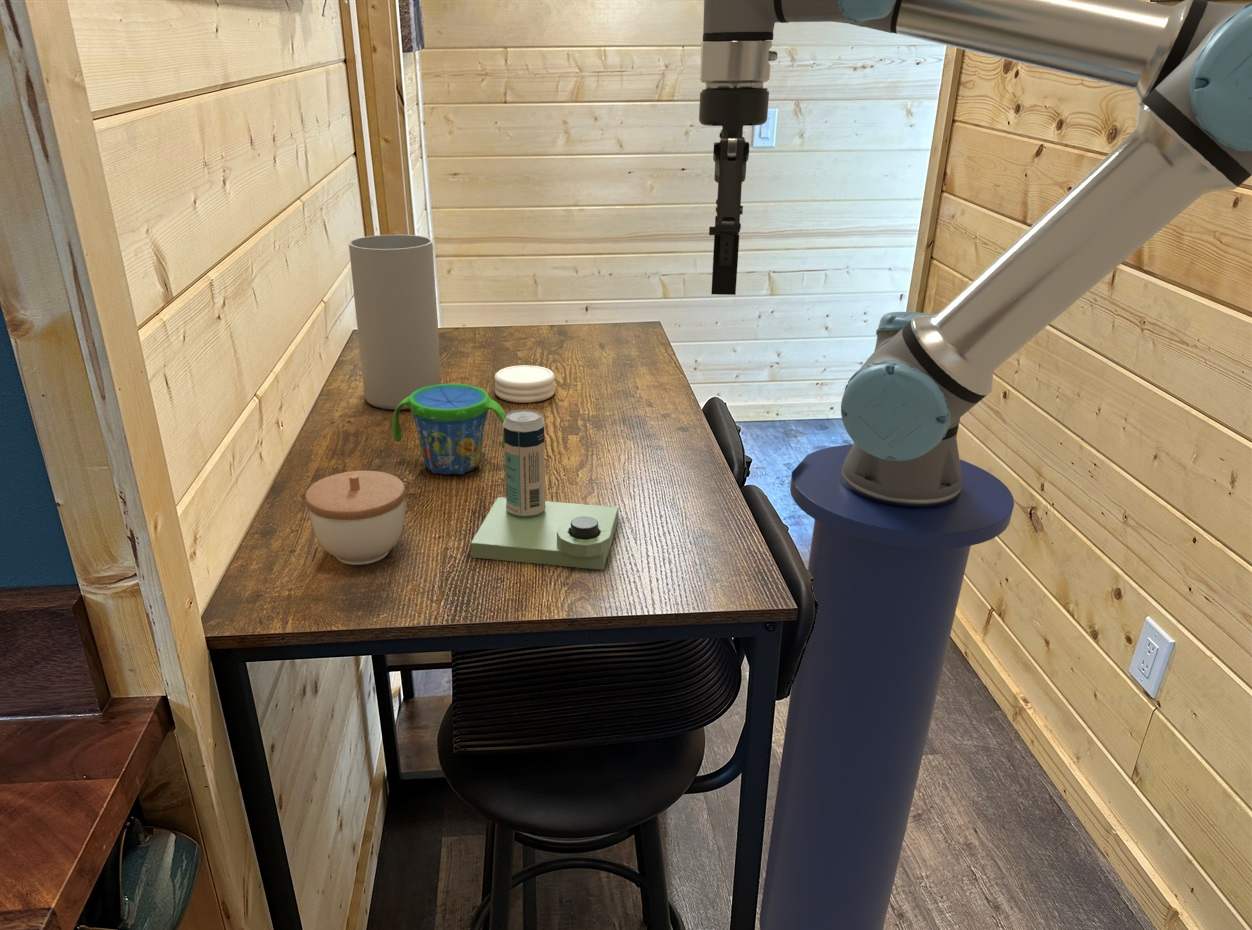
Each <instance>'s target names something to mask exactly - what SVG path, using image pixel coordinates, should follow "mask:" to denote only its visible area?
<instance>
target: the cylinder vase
mask: <svg viewBox="0 0 1252 930" xmlns="http://www.w3.org/2000/svg"><path fill="white" fill-rule="evenodd" d="M348 249H349V251H348V252H349V260H350V270H351V279H352V289H353V297H354V298H353V299H354V309H355V317H356V326H357V327H356V329H357V336H358V347H359V357H360V367H361V376H362V384H363V386H362V388H363V396H364V399H365V401H366V402H367V403H368V404H369V405H371V406H372V407H376V408H378V409H383V410H391V411H393V410H394V411H395V409H396V408H397V406H398V405H399V403H400V402H401V401H402V400H404V399H405V398H406V397H408V396H410V395H411V394H412V393H413V392H414V391H416V390H418V389H421V388H423V387H427V386H432V385H439V384H442V369H441V355H440V340H439V339H440V338H439V324H438V323H439V322H438V307H437V292H436V291H437V290H436V276H435V261H434V244H433V239H432V238H430V237H428V236H423V235H417V234H378V235H377V234H376V235H368V236H362V237H358V238H353V239H351V240H350V241H348ZM405 410H411V409H410V407H409V406H408V405H403V406H402V407H401V409H400V411H405Z"/></svg>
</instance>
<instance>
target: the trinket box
mask: <svg viewBox="0 0 1252 930" xmlns="http://www.w3.org/2000/svg"><path fill="white" fill-rule="evenodd" d="M304 500H305V506H306V508H307V512H308V517H309V522H310V527H311V529H312V532H313V534H314V536H315V538H316V540H317V542H318V543H319V545H320V546H321V547H322V548H323V549H324V550H325V551H326V552H327V553H328V554H330V555H332V556H333V557H335V559H336V560H337V561H338V562H340V563H343V564H346V565H351V566H352V565H353V566H362V565H369V564H373V563H376V562H378V561H381V560H382V559H384V558H385V557H387V555H388V554H389V553H390V551H391V550H392V549H393V547H395V545H396V544H397V543H398V541H399V540H400V537H402V533H403V530H404V527H405V522H406V487H405V484H404V482H403V481H402V479H400V478H399V477H397V476H396V475H393V474H390V473H388V472H384V471H376V470H353V471H344V472H340V473H335V474H331V475H328V476H325V477H323V478H321V479H319V480H317V481H316V482H314V483H313V484H311V485H310V486H309V487H308V489H307V490H306V492H305V495H304Z"/></svg>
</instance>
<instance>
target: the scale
mask: <svg viewBox="0 0 1252 930" xmlns="http://www.w3.org/2000/svg"><path fill="white" fill-rule="evenodd" d="M545 505H546V508H545V509H544V510H543V511H542V512H540V513H539V514H537V515H535V516H531V517H520V516H516V515H514V514H512V513H510V512H508V511H507V509H506V497H500V496H497V497H496V499H495V500H494V503H493V504H492V506H491V508H490V510H489V511H488V513H487V514H486V516H485V518H484V520H483V521H482V523H481V524H480V526H479V528H478V530H477V531H476V533H475V534H474V537H473V538H472V540H471V542H470V556H471V558H473V559H485V560H494V561H495V560H496V561H506V562H508V561H509V562H516V563H517V562H518V563H527V564H536V565H537V564H538V565H547V566H559V567H567V568H568V567H569V568H579V569H589V570H598V571H599V570H601V571H604V569H605V567H606V562H607V559H608V556H609V553H610V549H611V546H612V542H613V541H614V540H613V539H614V536H615V534H616V529H617V526H618V523H619V510H620V509H619V507H618V506H607V505H597V504H586V503H585V504H584V503H575V502H574V503H573V502H561V501H550V500H545ZM581 516H588V517H592V518H595V519H596V520H597V521H598V536H597V537H596V538H593V539H587V540H584V539H576V538H574V537H572V536H571V521H572V520H573V519H574V518H576V517H581Z"/></svg>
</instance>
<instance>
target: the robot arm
mask: <svg viewBox="0 0 1252 930" xmlns="http://www.w3.org/2000/svg"><path fill="white" fill-rule="evenodd" d="M823 22H824V23H825V22H826V23H827V22H829V23H831V22H832V23H838V24H839V23H840V24H841V23H842V24H848V25H852V26H857V27H862V28H867V29H872V30H876V31H880V32H884V33H889V34H895V35H901V36H904V37H909V38H913V39H917V40H921V41H926V42H930V43H934V44H937V45H938V44H939V45H942V46H946V47H951V48H956V49H960V50H964V51H969V52H972V53H977V54H982V55H985V56H990V57H994V58H999V59H1004V60H1008V61H1011V62H1016V63H1020V64H1025V65H1028V66H1033V67H1036V68H1042V69H1046V70H1050V71H1054V72H1059V73H1063V74H1066V75H1072V76H1076V77H1081V78H1085V79H1088V80H1093V81H1097V82H1101V83H1106V84H1110V85H1114V86H1118V87H1122V88H1126V89H1132V91H1134V93H1135V95H1136V97H1137V99H1138V101H1139V103H1138V105H1137V113H1136V123H1135V127H1134V129H1133V131H1132V132H1130V133H1129V134H1128V136H1126V137H1125V138H1124V139H1123V140H1122V141H1121V142H1120V143H1119V144H1118V145H1116V147H1115V148H1113V149H1112V151H1111V152H1109V153H1108V154H1107V155H1106V156H1105V157H1104V158H1103V159H1102V160H1100V162H1098V164H1097V165H1096V166H1094V167H1093V168H1092V169H1091V170H1090V171H1089V172H1088V173H1087V174H1086V175H1085V176H1084V177H1083V178H1082V179H1080V181H1078V182H1077V183H1076V184H1075V185H1074V186H1073V187H1072V188H1071V189H1070V190H1069V191H1068V192H1067V193H1066V194H1064V195H1063V196H1062V197H1061V198H1060V199H1059V200H1058V201H1057V202H1056V203H1055V204H1054V205H1052V206H1051V208H1049V209H1048V210H1047V211H1046V212H1045V213H1044V214H1043V215H1042V216H1041V217H1040V218H1039V219H1038V220H1036V222H1034V224H1032V225H1031V226H1030V227H1029V228H1028V229H1027V230H1026V231H1025V232H1024V233H1022V235H1020V237H1019V238H1017V239H1016V240H1015V241H1014V242H1013V243H1012V244H1011V245H1010V246H1009V247H1008V248H1007V249H1005V250H1004V251H1003V252H1002V253H1001V254H1000V255H999V256H998V257H997V258H996V259H995V260H993V262H992V263H991V264H990V265H988V267H986V268H985V269H984V270H983V271H982V272H981V273H980V274H979V275H977V276H976V278H974V280H972V281H971V282H970V283H969V284H968V285H967V286H966V287H964V289H963V290H962V291H961V292H960V293H958V294H957V295H956V296H955V297H954V298H953V299H952V300H951V301H950V302H949V303H948V304H947V305H946V306H944V308H942V309H941V310H940V312H938V313H929V312H919V311H917V312H916V311H891V312H887V313H885V314H883V315H882V316H881V318H880V320H879V324H878V328H877V329H876V330H875V335H876V343H875V346H874V351H873V353H871V355H870V356H869V357H868V359H866V361H865V362H864V363H863V364H862V365H861V367H860V368H859V369H858V370H857V371H855V373H853V375H851V377H850V378H849V380H848V381H847V384H845V387H844V392H843V395H842V397H841V401H840V416H841V421H842V424H843V427H844V429H845V432H846V433H847V435H848V437H850V439H851V441H853V443H852V444H853V445H852V447H851V449H850V451H849V453H848V455H847V457H846V459H845V461H844V464H843V467H842V474H841V480H842V482H843V484H844V485H845V486H846V487H847V488H848V489H849V490H850V491H852V492H853V493H855V494H856V495H858V496H860V497H862V498H865V499H867V500H870V501H873V502H876V503H880V504H884V505H888V506H893V507H900V508H910V509H927V508H936V507H941V506H945V505H948V504H950V503H952V502H954V501H955V500H957V498H958V497H959V495H960V491H961V486H962V473H961V466H960V460H961V459H960V453H959V447H958V440H957V439H958V438H957V436H958V431H959V426H960V421H961V417H963V416H964V415H966V413H968V412H969V411H970V410H971V409H972V408H973V407H975V406H976V405H977V404H978V403H980V402H981V401H982V400H983V399H984V398H985V397H987V396H988V395H989V394H990V393H991V392H992V391H993V383H994V373H995V371H996V370H997V369H998V368H1000V366H1002V365H1003V364H1004V363H1005V362H1007V361H1008V360H1009V359H1010V358H1011V357H1012V356H1014V354H1016V353H1017V352H1018V351H1020V350H1021V349H1022V348H1023V347H1024V346H1025V345H1026V344H1028V343H1029V342H1030V341H1031V340H1032V339H1033V338H1035V337H1036V336H1037V335H1038V334H1040V333H1041V332H1042V331H1043V330H1044V329H1046V328H1047V327H1048V326H1049V325H1050V324H1052V323H1053V322H1054V321H1055V320H1056V319H1057V318H1058V317H1060V316H1061V315H1062V314H1063V313H1064V312H1066V311H1067V310H1068V309H1070V307H1071V306H1073V305H1074V304H1075V303H1076V302H1077V301H1079V299H1081V298H1082V297H1083V296H1084V295H1085V294H1087V293H1088V292H1089V291H1091V289H1093V288H1094V287H1095V286H1096V285H1097V284H1099V283H1100V282H1101V281H1102V280H1104V279H1105V278H1107V276H1109V274H1111V272H1113V271H1114V270H1116V269H1117V268H1118V267H1120V265H1121V264H1122V263H1123V262H1124V261H1126V260H1127V259H1128V258H1129V257H1130V256H1132V255H1133V254H1134V253H1135V252H1137V251H1138V250H1139V249H1140V248H1142V247H1143V246H1144V245H1145V244H1146V243H1147V242H1149V241H1150V240H1151V239H1152V238H1154V236H1156V235H1157V234H1158V233H1159V232H1160V231H1161V230H1163V229H1164V228H1165V227H1166V226H1167V225H1168V224H1170V223H1171V222H1172V221H1173V220H1174V219H1176V218H1177V217H1178V216H1179V215H1180V214H1182V213H1183V212H1184V211H1185V210H1186V209H1187V208H1188V207H1189V206H1191V205H1192V204H1193V203H1195V202H1196V201H1197V200H1198V199H1199V198H1200V197H1202V196H1203V195H1205V194H1208V193H1213V192H1225V191H1226V192H1227V191H1235V190H1237V188H1239V187H1240V186H1241V185H1242V184H1243V183H1245V182H1246V181H1247V180H1248V179H1250V177H1252V2H1248V3H1234V2H1233V3H1230V2H1229V3H1227V2H1216V1H1209V0H1182V1H1181V2H1179V3H1177V4H1175V5H1172V6H1170V5H1167V4H1166V5H1165V4H1161V3H1156V2H1152V1H1151V2H1150V1H1145V0H703V27H702V28H703V29H702V42H701V50H700V73H699V75H700V76H699V81H700V82H701V83H703V84H705V88H702V89H701V91H700V92H699V107H698V109H699V110H698V121H699V123H700V124H701V125H703V126H708V127H722V128H721V129H720V132H719V135H718V136H719V139H720V140H719V141H714V142H713V152H712V153H713V155H712V156H713V157H712V160H713V162H714V175H713V177H714V178H713V179H714V181H715V182H716V183H717V184H718V185H717V198H716V200H715V205H716V207H715V213H716V215H715V216H714V217H715V218H714V226H709V228H708V236H713V253H712V256H713V257H712V274H711V275H712V276H711V291H710V292H711V295H720V296H721V295H722V296H723V295H725V296H727V295H728V296H729V295H730V296H736V295H737V294H736V293H737V292H736V291H737V281H738V280H737V277H738V261H739V249H740V248H739V247H740V232H741V228H742V223H741V222H740V221H741V216H742V215H743V213H744V212H743V211H744V206H743V205H742V204H741V203H742V186H743V185H742V184H743V183H744V182H745V180H746V176H747V175H746V174H747V162H748V161H749V157H750V143H749V141H746V139H745V137H744V136H743V135H744V133H743V132H744V127H748V126H750V127H753V126H763V125H764V124H765V123H766V122H767V121H768V113H769V99H770V91H769V90H768V89H769V88H767V87H764V83H767V82H768V81H769V80H770V78H771V64H770V62H774V61H776V60H778V52H777V51H776V50H770V49H771V48H772V47H773V41H774V29H775V24H776V23H780V24H789V23H823Z"/></svg>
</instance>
